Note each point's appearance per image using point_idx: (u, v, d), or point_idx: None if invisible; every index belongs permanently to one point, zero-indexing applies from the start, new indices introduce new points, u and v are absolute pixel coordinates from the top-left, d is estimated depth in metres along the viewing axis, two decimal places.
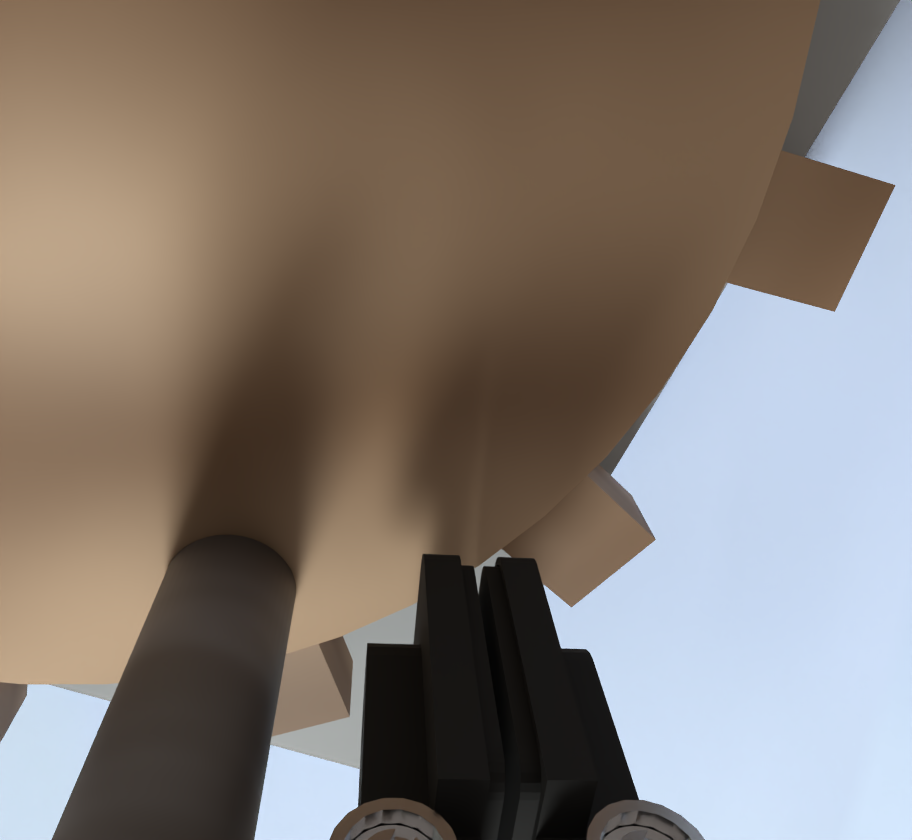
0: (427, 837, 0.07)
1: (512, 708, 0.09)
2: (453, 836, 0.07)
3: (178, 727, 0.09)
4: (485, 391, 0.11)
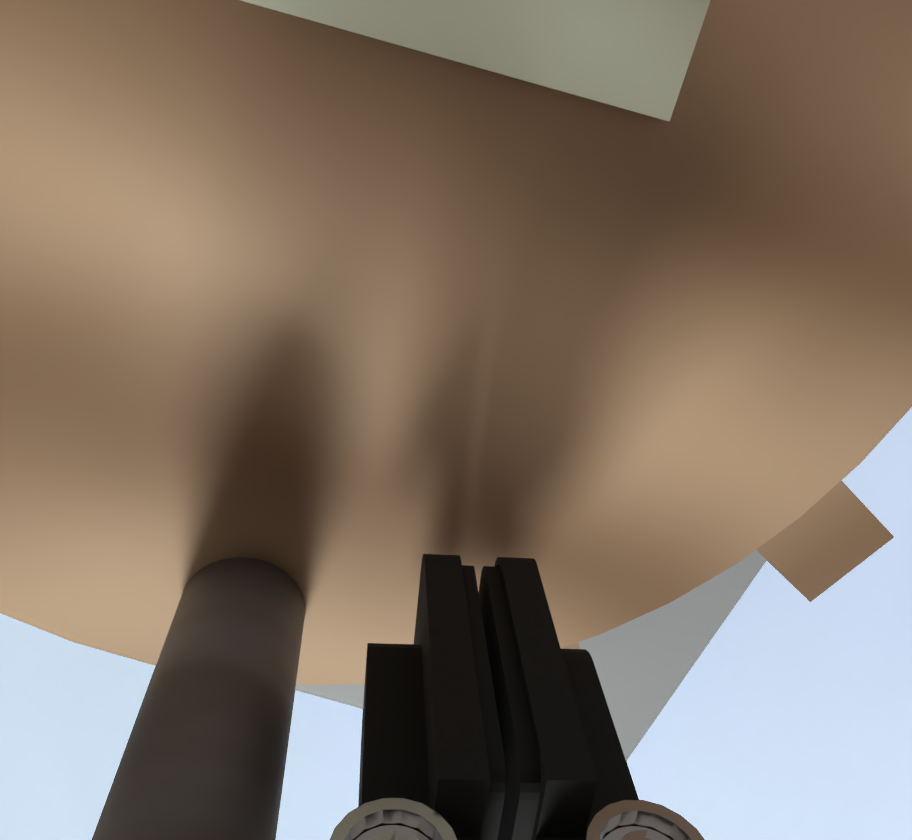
0: (428, 837, 0.07)
1: (512, 708, 0.09)
2: (454, 836, 0.07)
3: (245, 752, 0.09)
4: (546, 546, 0.13)
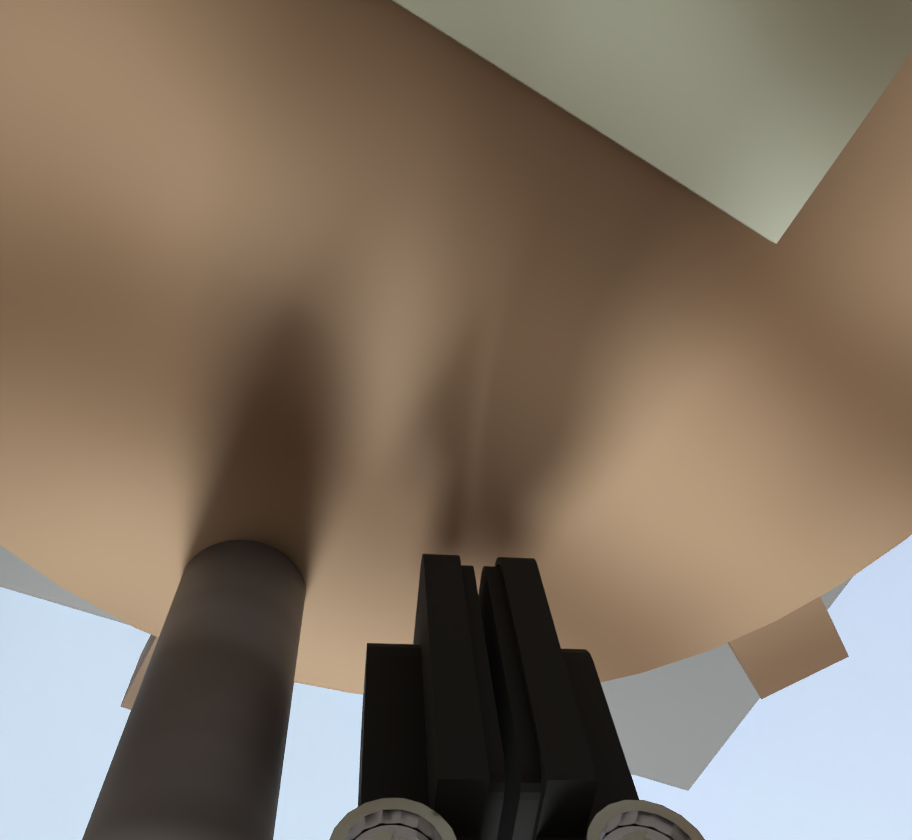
0: (427, 837, 0.07)
1: (512, 708, 0.09)
2: (453, 836, 0.07)
3: (262, 741, 0.09)
4: (547, 596, 0.14)
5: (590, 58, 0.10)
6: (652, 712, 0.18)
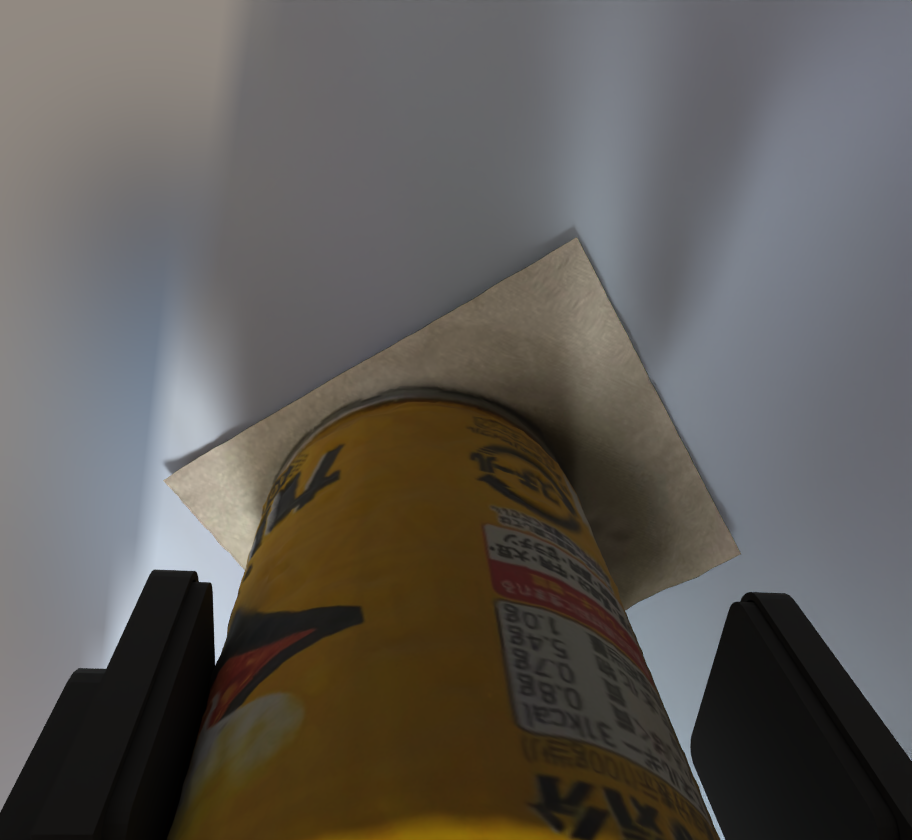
0: None
1: (840, 757, 0.08)
2: None
3: None
4: None
5: None
6: None
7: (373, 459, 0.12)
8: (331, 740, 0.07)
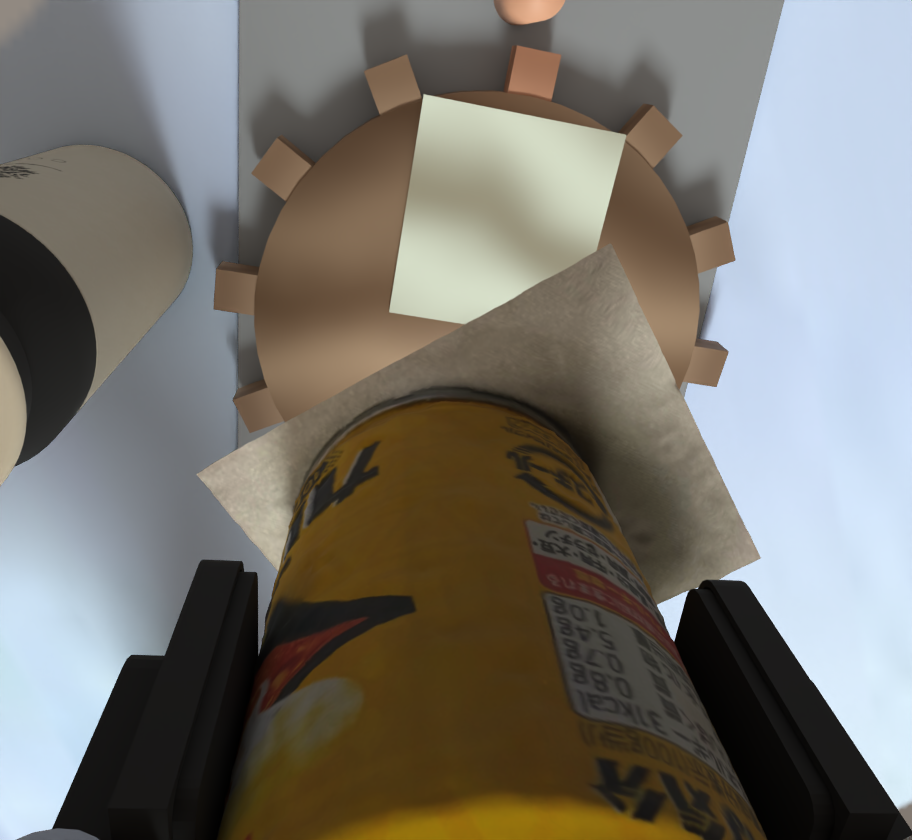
0: None
1: (782, 737, 0.09)
2: None
3: None
4: None
5: None
6: None
7: (412, 455, 0.12)
8: (395, 722, 0.07)
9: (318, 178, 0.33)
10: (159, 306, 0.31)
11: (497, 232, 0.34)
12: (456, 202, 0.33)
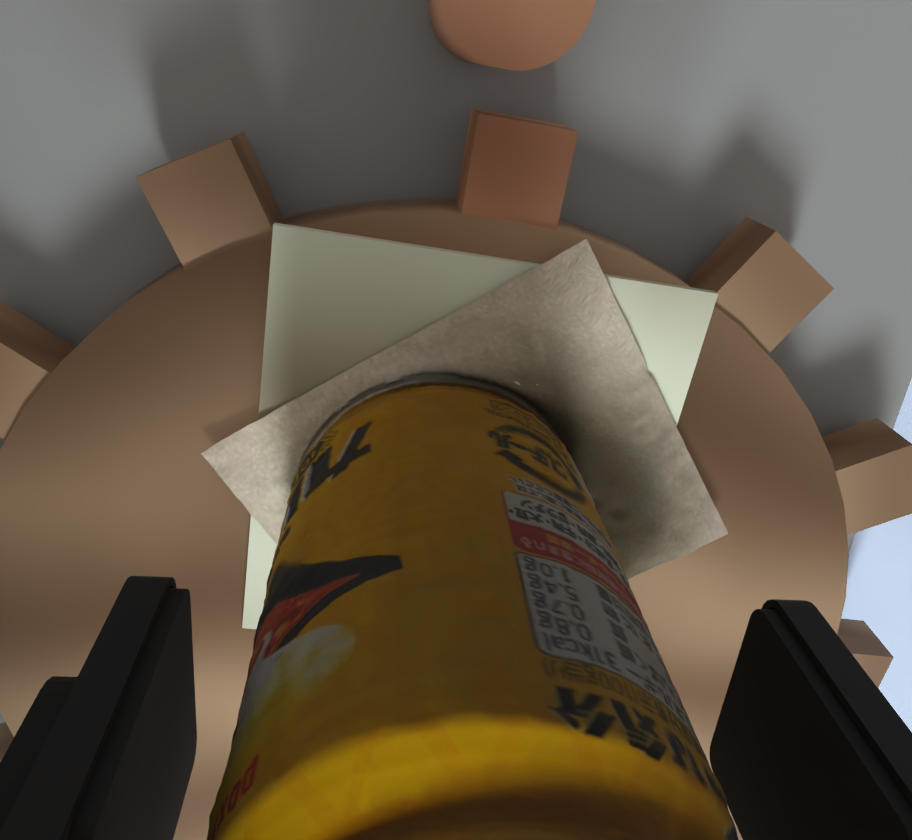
0: None
1: (869, 768, 0.08)
2: None
3: None
4: None
5: None
6: None
7: (401, 433, 0.13)
8: (383, 659, 0.08)
9: (65, 396, 0.15)
10: None
11: None
12: None
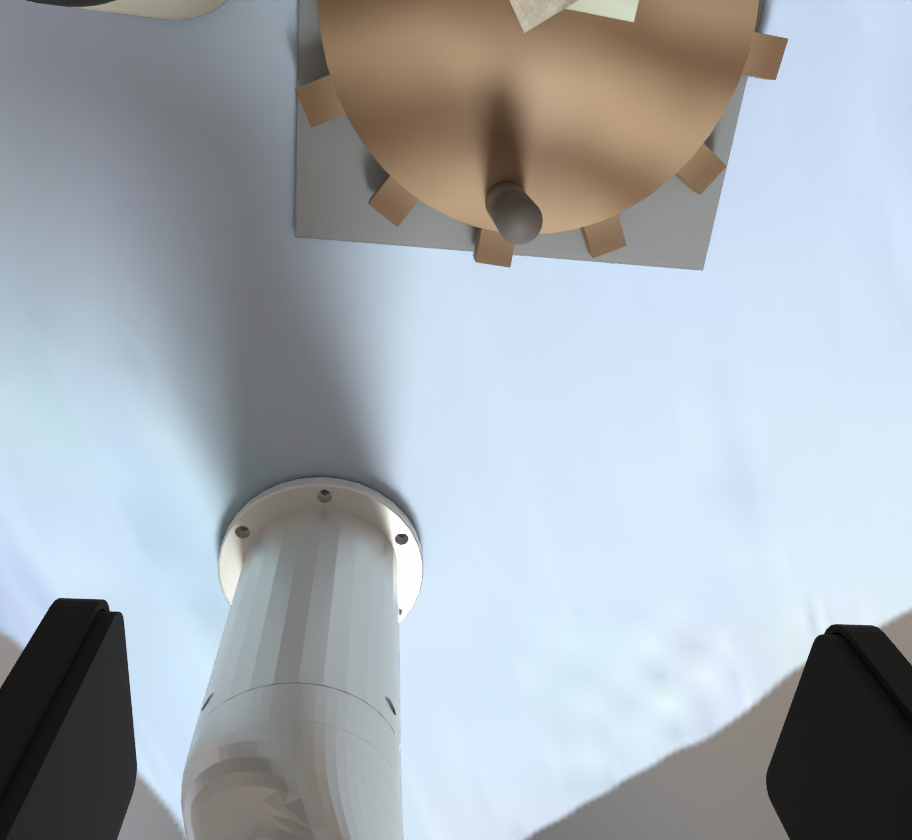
0: None
1: None
2: None
3: (530, 198, 0.36)
4: (605, 173, 0.39)
5: None
6: (672, 234, 0.43)
7: None
8: None
9: None
10: None
11: None
12: None
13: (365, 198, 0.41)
